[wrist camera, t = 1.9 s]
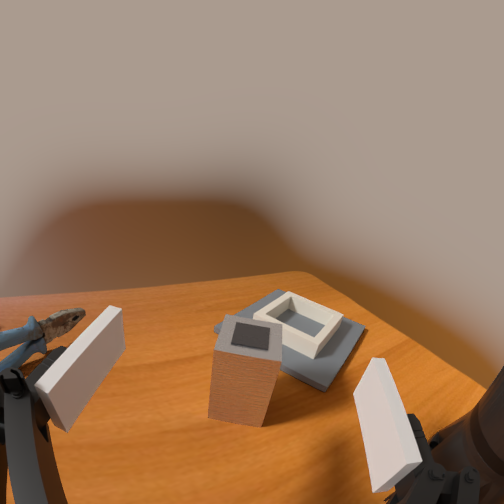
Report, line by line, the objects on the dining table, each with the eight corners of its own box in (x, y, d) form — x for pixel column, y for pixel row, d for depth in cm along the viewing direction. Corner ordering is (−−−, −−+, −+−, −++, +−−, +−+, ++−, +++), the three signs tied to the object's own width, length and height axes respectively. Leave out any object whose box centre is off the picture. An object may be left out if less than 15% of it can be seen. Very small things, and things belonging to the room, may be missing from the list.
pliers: (83, 327, 34) (77, 291, 32) (91, 334, 34) (85, 297, 32) (-26, 385, 17) (-45, 347, 15) (-21, 396, 16) (-42, 358, 14)
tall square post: (264, 390, 31) (282, 322, 27) (260, 427, 25) (282, 360, 22) (217, 382, 31) (226, 312, 27) (207, 417, 26) (214, 348, 22)
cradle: (363, 330, 45) (370, 313, 44) (324, 392, 31) (333, 373, 30) (277, 293, 54) (280, 277, 53) (213, 331, 40) (216, 311, 39)
